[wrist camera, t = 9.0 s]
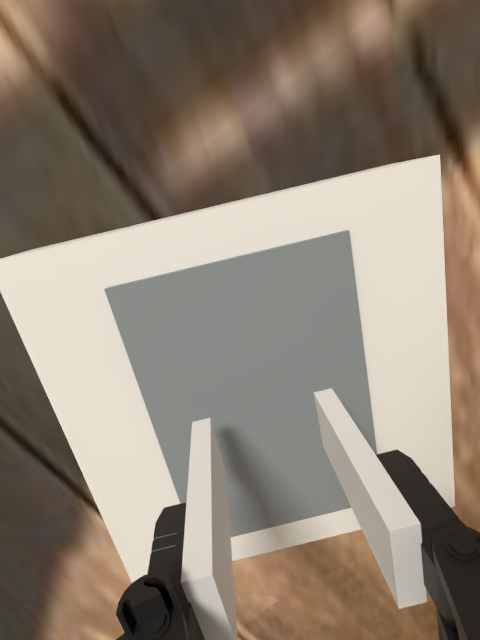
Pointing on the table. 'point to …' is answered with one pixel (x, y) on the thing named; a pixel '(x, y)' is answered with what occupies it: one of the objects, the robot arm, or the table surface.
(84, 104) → the table surface
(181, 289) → the plinth
